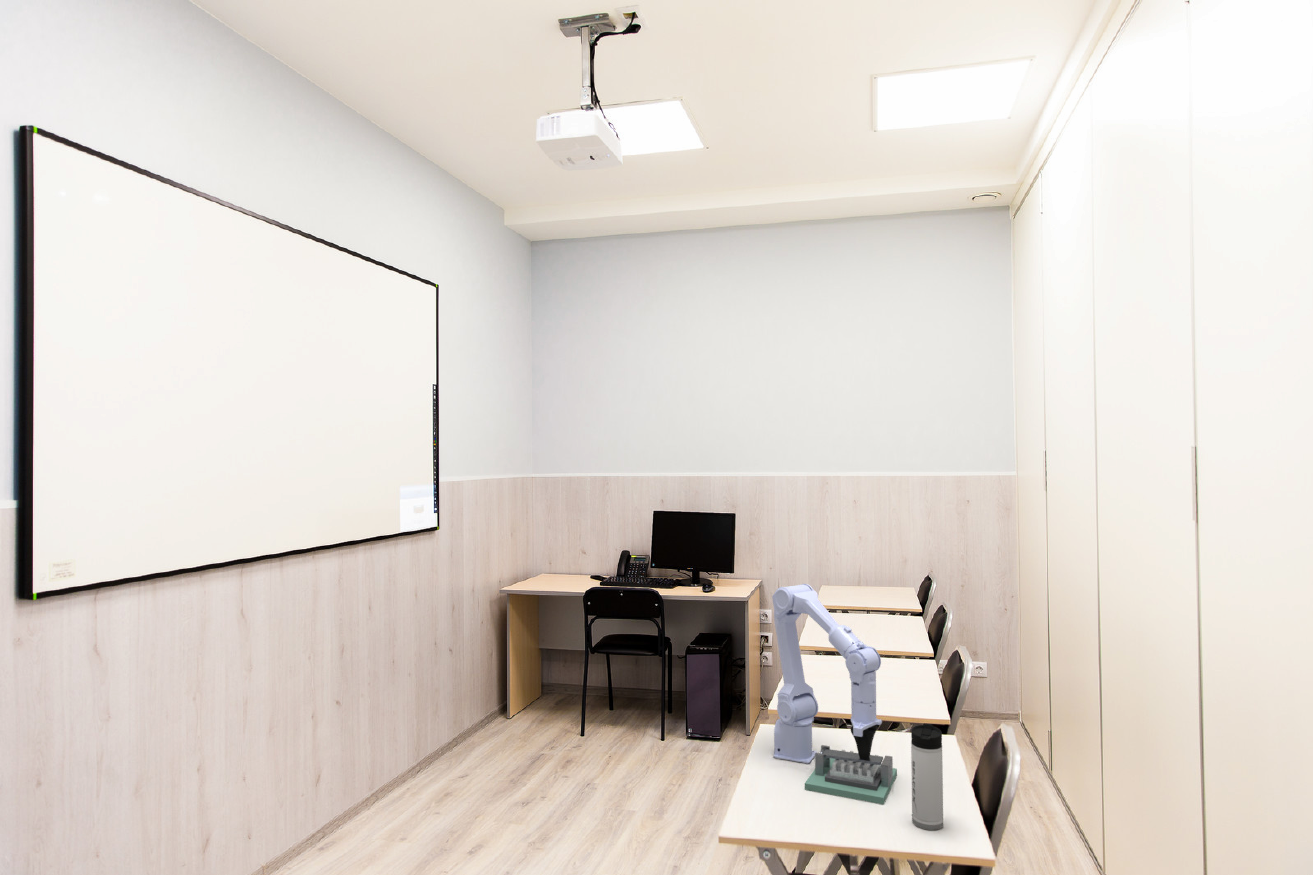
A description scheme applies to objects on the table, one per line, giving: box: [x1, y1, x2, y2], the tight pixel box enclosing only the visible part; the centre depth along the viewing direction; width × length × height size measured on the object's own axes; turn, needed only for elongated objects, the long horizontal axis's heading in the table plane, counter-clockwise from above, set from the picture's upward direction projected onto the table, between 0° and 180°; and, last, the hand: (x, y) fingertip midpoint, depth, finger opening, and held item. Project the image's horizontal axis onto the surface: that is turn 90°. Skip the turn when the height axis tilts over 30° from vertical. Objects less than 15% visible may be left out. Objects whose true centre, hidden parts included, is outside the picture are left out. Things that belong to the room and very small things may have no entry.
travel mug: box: [910, 722, 944, 831], centre depth 165 cm, size 6×7×20 cm
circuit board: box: [804, 758, 898, 805], centre depth 186 cm, size 18×18×2 cm
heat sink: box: [814, 744, 894, 787], centre depth 186 cm, size 17×10×5 cm, turn 64°
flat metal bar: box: [819, 748, 884, 765], centre depth 186 cm, size 14×4×1 cm, turn 64°
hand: (864, 757), depth 185 cm, fingers closed, pressing on flat metal bar
